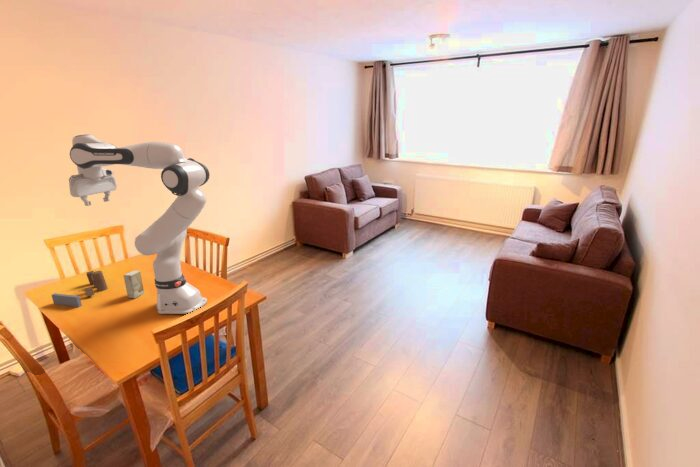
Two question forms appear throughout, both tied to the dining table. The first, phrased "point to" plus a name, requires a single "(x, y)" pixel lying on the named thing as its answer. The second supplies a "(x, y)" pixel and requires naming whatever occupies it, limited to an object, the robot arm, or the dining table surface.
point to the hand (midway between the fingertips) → (97, 203)
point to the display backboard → (66, 300)
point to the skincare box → (134, 284)
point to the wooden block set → (95, 282)
